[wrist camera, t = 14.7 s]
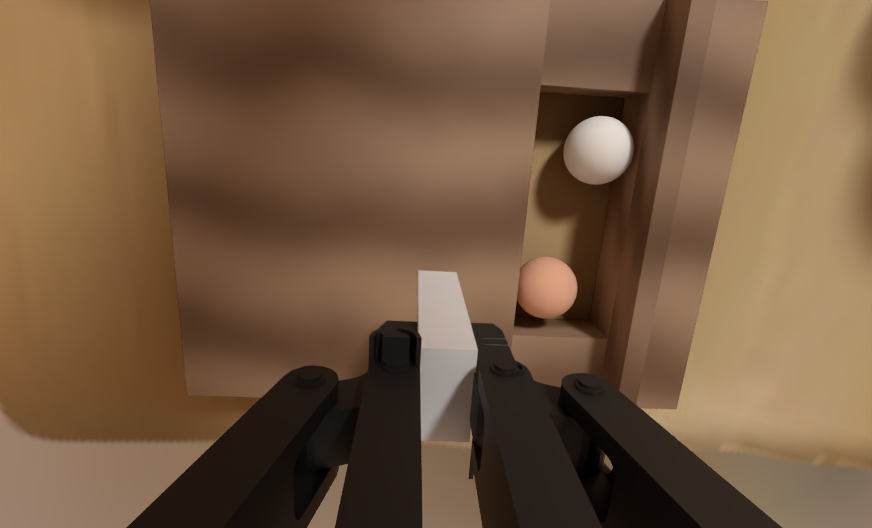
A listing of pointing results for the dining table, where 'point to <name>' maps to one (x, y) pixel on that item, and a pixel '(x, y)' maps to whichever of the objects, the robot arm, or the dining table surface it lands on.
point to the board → (435, 174)
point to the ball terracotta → (546, 287)
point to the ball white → (598, 150)
